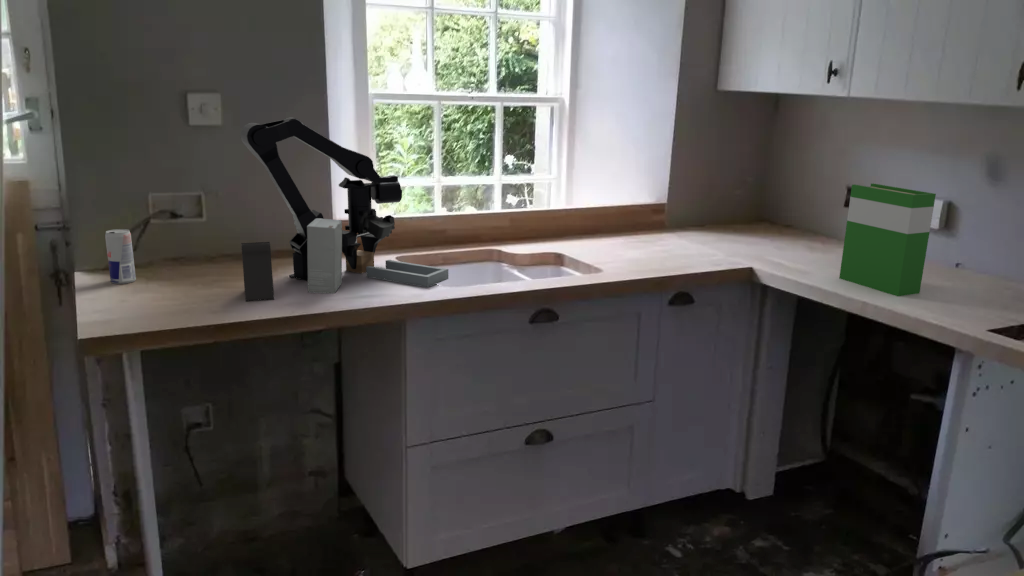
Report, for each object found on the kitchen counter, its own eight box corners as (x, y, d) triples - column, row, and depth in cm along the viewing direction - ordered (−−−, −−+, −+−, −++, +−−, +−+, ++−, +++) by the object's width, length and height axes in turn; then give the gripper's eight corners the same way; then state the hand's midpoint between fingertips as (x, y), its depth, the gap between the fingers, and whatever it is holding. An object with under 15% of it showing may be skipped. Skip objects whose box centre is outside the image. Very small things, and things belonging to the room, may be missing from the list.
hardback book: (839, 278, 202) (852, 184, 196) (860, 275, 205) (873, 183, 199) (897, 296, 187) (913, 195, 181) (919, 293, 190) (935, 193, 184)
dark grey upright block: (244, 291, 180) (240, 239, 177) (272, 289, 182) (268, 238, 179) (245, 302, 172) (241, 248, 169) (274, 300, 174) (270, 246, 171)
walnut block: (361, 273, 197) (361, 256, 196) (346, 271, 200) (345, 253, 198) (374, 269, 202) (373, 252, 200) (358, 267, 204) (358, 250, 203)
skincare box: (315, 283, 187) (312, 217, 183) (345, 284, 187) (343, 218, 183) (306, 293, 179) (302, 224, 175) (337, 294, 179) (335, 225, 175)
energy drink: (111, 279, 187) (106, 229, 184) (136, 277, 189) (131, 228, 186) (109, 285, 182) (103, 234, 179) (135, 283, 184) (129, 232, 181)
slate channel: (427, 287, 186) (427, 276, 185) (366, 276, 194) (366, 266, 193) (448, 278, 194) (448, 269, 193) (388, 269, 202) (388, 259, 201)
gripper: (361, 214, 184) (363, 278, 188) (408, 203, 200) (409, 263, 204) (324, 209, 189) (327, 272, 193) (373, 199, 205) (374, 257, 209)
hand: (361, 266), depth 200 cm, fingers open, 6 cm apart
